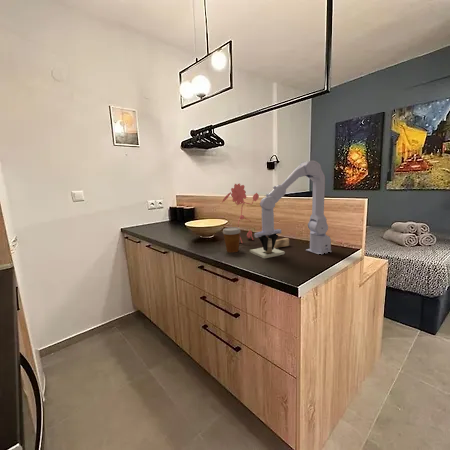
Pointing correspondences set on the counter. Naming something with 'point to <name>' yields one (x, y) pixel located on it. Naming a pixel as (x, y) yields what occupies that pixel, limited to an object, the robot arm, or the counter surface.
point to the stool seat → (262, 253)
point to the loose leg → (269, 246)
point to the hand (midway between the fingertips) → (268, 249)
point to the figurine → (238, 196)
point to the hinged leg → (281, 242)
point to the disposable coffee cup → (232, 239)
